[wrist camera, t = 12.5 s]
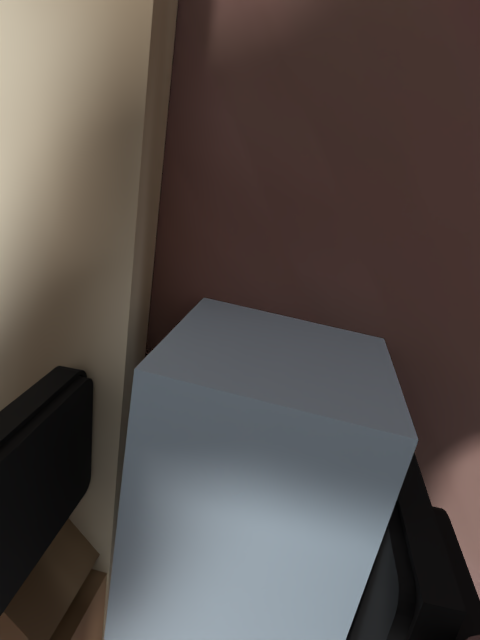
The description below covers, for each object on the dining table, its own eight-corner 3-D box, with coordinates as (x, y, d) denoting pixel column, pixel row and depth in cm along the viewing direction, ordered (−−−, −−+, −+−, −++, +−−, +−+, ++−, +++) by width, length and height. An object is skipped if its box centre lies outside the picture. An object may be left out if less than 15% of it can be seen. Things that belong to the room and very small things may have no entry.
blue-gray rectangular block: (383, 337, 10) (418, 439, 6) (301, 606, 13) (290, 791, 9) (204, 296, 10) (134, 369, 7) (161, 564, 13) (94, 724, 9)
